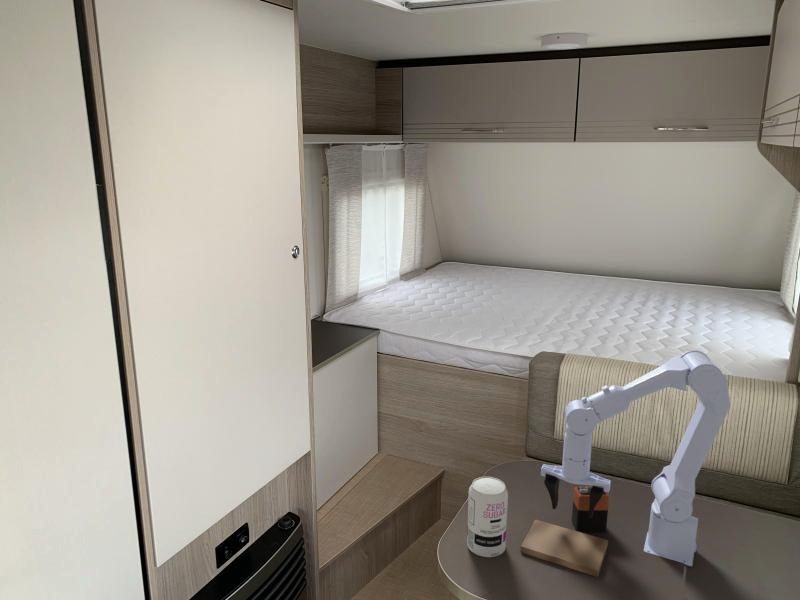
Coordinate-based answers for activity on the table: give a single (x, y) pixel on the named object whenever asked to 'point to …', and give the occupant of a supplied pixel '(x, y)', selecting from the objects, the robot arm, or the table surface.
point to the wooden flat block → (565, 547)
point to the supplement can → (487, 517)
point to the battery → (582, 508)
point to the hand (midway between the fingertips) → (572, 511)
